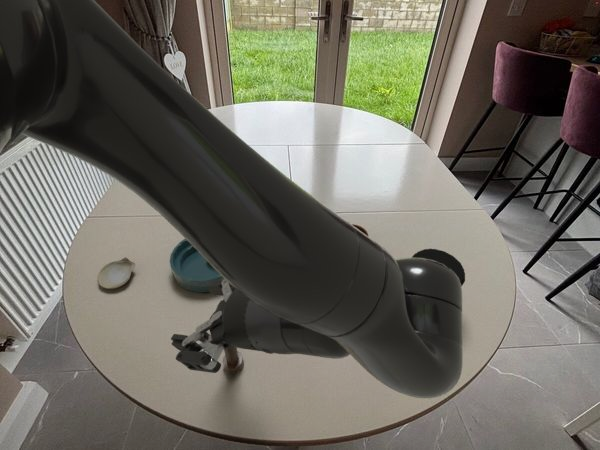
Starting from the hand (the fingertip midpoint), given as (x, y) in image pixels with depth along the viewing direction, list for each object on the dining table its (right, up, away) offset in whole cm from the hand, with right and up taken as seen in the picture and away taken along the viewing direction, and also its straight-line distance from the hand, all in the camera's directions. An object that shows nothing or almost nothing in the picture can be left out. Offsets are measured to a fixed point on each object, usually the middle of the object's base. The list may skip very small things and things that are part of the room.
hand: (194, 313), depth 48 cm
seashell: (-27, 0, +30) cm, 41 cm away
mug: (+25, +4, +36) cm, 44 cm away
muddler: (+3, -14, +15) cm, 20 cm away
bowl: (-7, +3, +33) cm, 34 cm away
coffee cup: (+43, -5, +26) cm, 50 cm away
